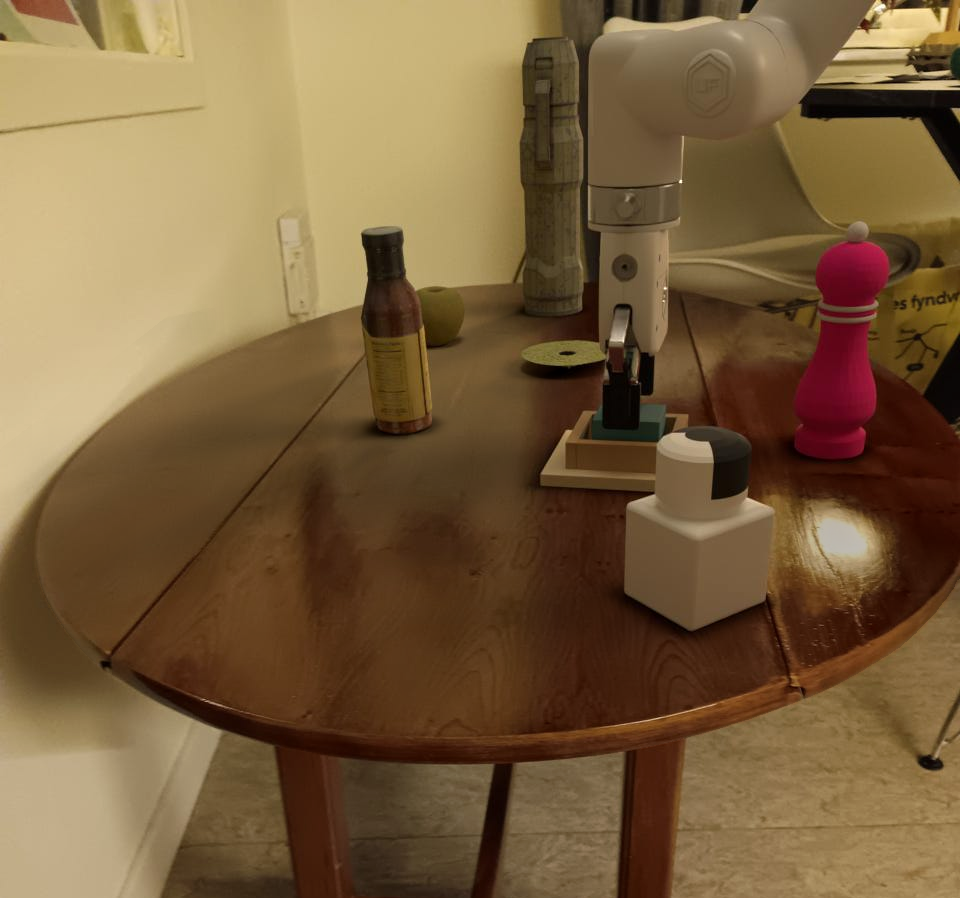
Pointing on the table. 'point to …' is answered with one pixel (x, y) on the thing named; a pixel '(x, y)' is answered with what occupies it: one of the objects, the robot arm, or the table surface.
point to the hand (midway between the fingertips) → (628, 410)
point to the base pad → (604, 459)
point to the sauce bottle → (394, 337)
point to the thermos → (551, 177)
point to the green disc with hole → (564, 353)
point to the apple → (440, 314)
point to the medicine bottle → (699, 531)
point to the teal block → (647, 431)
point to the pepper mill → (841, 350)
